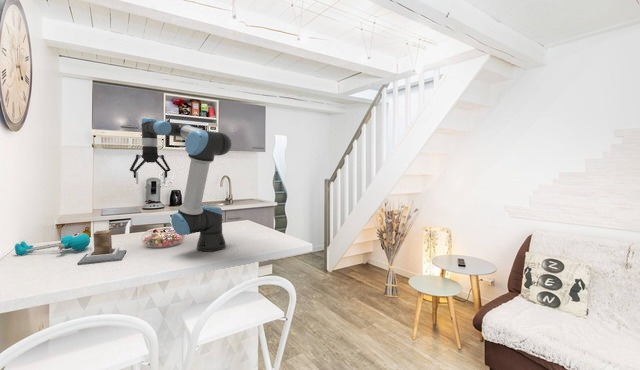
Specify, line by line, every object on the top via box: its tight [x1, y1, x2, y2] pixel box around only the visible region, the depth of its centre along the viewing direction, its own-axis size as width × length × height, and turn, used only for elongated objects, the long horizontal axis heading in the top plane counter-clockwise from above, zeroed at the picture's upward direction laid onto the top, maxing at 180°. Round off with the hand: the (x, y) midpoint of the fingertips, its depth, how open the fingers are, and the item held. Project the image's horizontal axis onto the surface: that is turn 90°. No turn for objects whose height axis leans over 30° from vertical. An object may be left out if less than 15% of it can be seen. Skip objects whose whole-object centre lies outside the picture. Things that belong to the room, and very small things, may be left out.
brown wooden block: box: [93, 229, 113, 255], centre depth 149 cm, size 6×6×12 cm
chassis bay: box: [77, 247, 127, 266], centre depth 149 cm, size 17×15×3 cm
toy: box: [14, 231, 91, 256], centre depth 158 cm, size 22×10×30 cm
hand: (151, 183), depth 173 cm, fingers open, 13 cm apart
